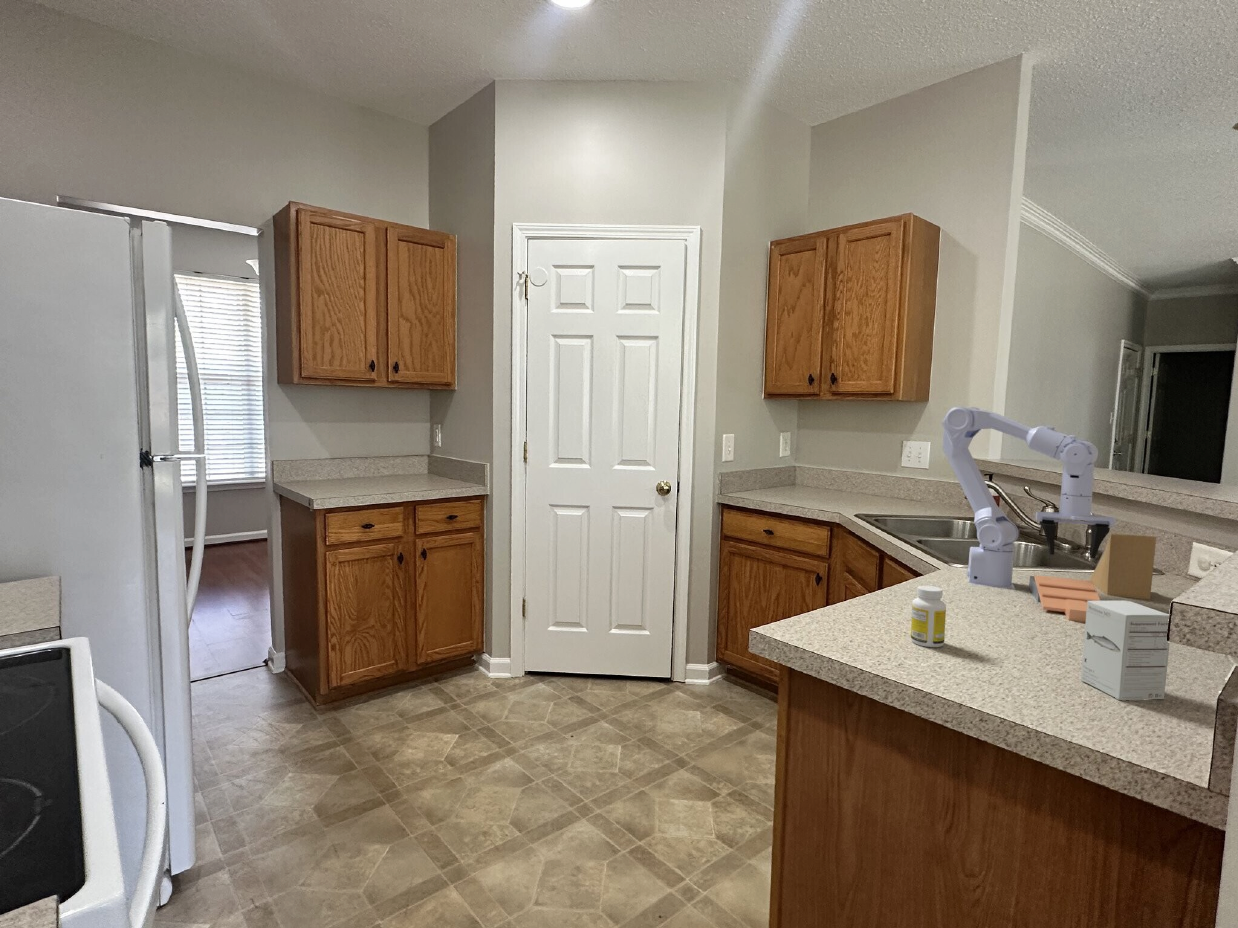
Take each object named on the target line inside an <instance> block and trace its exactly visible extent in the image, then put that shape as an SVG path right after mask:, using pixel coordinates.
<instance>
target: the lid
mask: <svg viewBox="0 0 1238 928" xmlns="http://www.w3.org/2000/svg"><path fill="white" fill-rule="evenodd" d="M1034 576H1035V577H1034V578H1035V582H1036V586H1037V589H1038V593H1039V597H1040V600H1041V602H1040V603H1041V608H1042V610H1046V611H1051V612H1052V611H1053V612H1060V613H1061V612H1062V613H1064V614H1065V616H1066V618H1067V620H1068V621H1073V622H1074V621H1075V622H1080V623H1086V612H1087V601H1101V598H1100V596H1099V593H1098V592H1097V590H1096V586H1094V584H1093V582H1092V581H1089V580H1083V579H1076V578H1075V579H1074V578H1066V577H1056V576H1047V575H1039V574H1038V575H1037V574H1034Z"/></svg>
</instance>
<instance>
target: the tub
mask: <svg viewBox="0 0 1238 928" xmlns="http://www.w3.org/2000/svg"><path fill="white" fill-rule="evenodd" d="M1034 577H1035V575H1034V576H1033V575H1029V582H1028V590H1029V591H1030V592H1031V594H1032V595H1033V597H1034V598H1035V600H1036V601H1037V603H1041V600H1040V597H1039V593H1038V589H1037V586H1036V582H1035V578H1034Z"/></svg>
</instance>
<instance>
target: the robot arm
mask: <svg viewBox="0 0 1238 928" xmlns="http://www.w3.org/2000/svg"><path fill="white" fill-rule="evenodd" d="M941 425H942V427H943V435H942V450H943V452H944V454H945V457H946V459H947V460H948V462H949V464H950V466H951V469H952V471H953V472H954V475H955V477H956V479H957V481H958V482H959V485H960V487H961V488H962V490H963V493H964V495H965V496H966V499H967V501H968V503H969V505H970V507H971V509H972V511H973V513H974V520H973V523H974V525H975V527H976V537H977V540H978V542H979V546H970V547H969V554H968V555H969V556H968V568H967V571H966V577H967V580H968V583H969V585H978V586H985V587H986V586H987V587H993V588H994V587H995V588H1003V589H1012V590H1013V589H1014V590H1016V587H1015V585H1014V584H1013V571H1014V570H1013V569H1014V556H1015V547H1014V545H1013V543H1015V542H1016V541H1017V539H1018V537H1019V530H1018V529H1019V528H1018V527H1017V525H1016V524H1015V523H1014V522H1013V521H1012V520H1010V519H1009V518H1008V516H1007V515H1006V513H1005V512H1004V511H1003V509H1002V508H1000V507H999V506H998V505H997V503H996V502H997V501H996V500H995V499H994V496H993V495H992V492H991V491H990V489H989V487H988V485H987V483H986V481H985V478H984V476H983V475H982V474H981V471H980V469H979V467H978V465H977V463H976V461H975V459H974V457H973V455H972V453H971V451H970V450H969V447H970V446H971V443H972V441H973V439H974V437H976V435H977V434H978V433H979V432H980V431H982V430H991V429H992V430H994V431H997V432H1001V433H1003V434H1006V435H1009V436H1011V437H1015V438H1018V439H1020V440H1023V441H1025V442H1026V444H1027V446H1028V448H1029V449H1030V450H1032V451H1036V452H1038V453H1041V454H1042V455H1046V456H1048V457H1049V458H1053V459H1056V460H1058V461H1059V460H1061V461H1062V463H1063V468H1062V475H1061V477H1062V478H1061V488H1060V489H1061V490H1060V498H1059V499H1060V500H1059V501H1060V502H1059V511H1058V512H1057V511H1056V512H1054V511H1053V512H1052V511H1035V518H1034V519H1035V521H1036V522H1039V524H1040V525H1041V528H1042V530H1043V533H1044V536H1045V539H1046V542H1047V548H1048V554H1049V555H1051V556H1052V555H1055V540H1056V539H1055V538H1056V531H1057V525H1056V523H1062V524H1063V523H1066V524H1075V525H1076V524H1078V525H1091V526H1090V531H1091V533H1090V536H1091V537H1090V546H1089V555H1088V556H1089V558H1091V559H1094V560H1095V559H1096V558H1097V557H1096V556H1097V553H1098V551H1099V548H1100V546H1101V544H1102V542H1103V541H1104V539H1106V537H1107V536H1108V534H1109V533H1110V531H1111V528H1115V527H1116V518H1115V517H1114V516H1105V515H1096V514H1095V515H1094V514H1091V513H1092V503H1093V502H1092V500H1093V489H1094V477H1095V475H1094V471H1095V464H1094V463H1095V462H1096V461H1097V459H1098V456H1099V449H1098V448H1097V446H1096V445H1095V444H1093V443H1091V442H1090V441H1089V440H1086V439H1080V440H1077V438H1078V437H1077V435H1075V434H1071V435H1068V434H1065V433H1063V432H1060V431H1058V430H1055V427H1054V426H1052V425H1046V426H1044V425H1039V426H1036V427H1034V428H1032V427H1030V426H1027V425H1026V424H1023V423H1021V422H1018V421H1016V420H1014V419H1012V418H1010V417H1007V416H1004V415H1002V414H999V413H997V412H994V411H989V410H986V409H980V408H978V407H975V406H973V407H972V406H970V407H965V406H961V405H960V406H954V407H952V408H951V409H949V410H948V411H947V413H946V415H945V416H944V418H943V420H942V422H941ZM1110 527H1111V528H1110Z"/></svg>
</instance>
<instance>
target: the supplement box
mask: <svg viewBox="0 0 1238 928" xmlns="http://www.w3.org/2000/svg"><path fill="white" fill-rule="evenodd" d="M1169 615H1170V614H1169V613H1166V612H1163V611H1160V610H1157V609H1153V608H1151V607H1148V606H1144V605H1143V604H1140V603H1136V602H1134V601H1130V600H1100V601H1087V612H1086V622H1084V623H1085V624H1084V625H1085V626H1084V636H1083V647H1082V656H1081V657H1082V658H1081V668H1080V669H1081V670H1080V681H1081V682H1084V683H1086V684H1089V686H1092V687H1094V688H1095V689H1098V690H1100V691H1102V692H1103V693H1106V694H1107V695H1109V696H1111V697H1113V698H1114V697H1115V698H1114V699H1116V700H1118V701H1120V700H1122V701H1126V700H1129V701H1144V700H1143V699H1164V700H1165V693H1166V692H1165V691H1166V684H1167V682H1166V681H1167V676H1168V675H1167V673H1168V664H1169V663H1168V662H1169V654H1170V644H1171V642H1170V643H1168V642H1167V629H1168V619H1169ZM1141 699H1142V700H1141Z"/></svg>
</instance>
